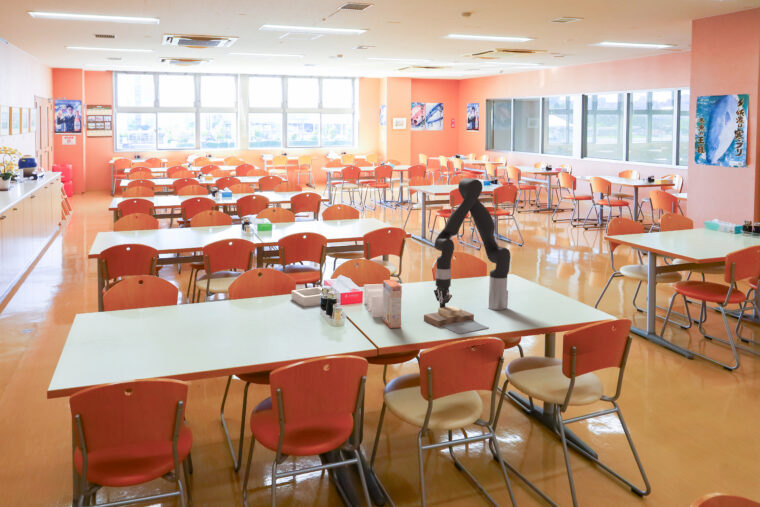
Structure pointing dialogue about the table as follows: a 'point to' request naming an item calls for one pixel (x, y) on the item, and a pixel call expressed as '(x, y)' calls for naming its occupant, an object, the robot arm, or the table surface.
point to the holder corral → (307, 296)
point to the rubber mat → (465, 327)
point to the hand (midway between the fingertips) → (442, 310)
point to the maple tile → (449, 311)
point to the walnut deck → (441, 320)
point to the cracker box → (392, 303)
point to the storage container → (374, 299)
